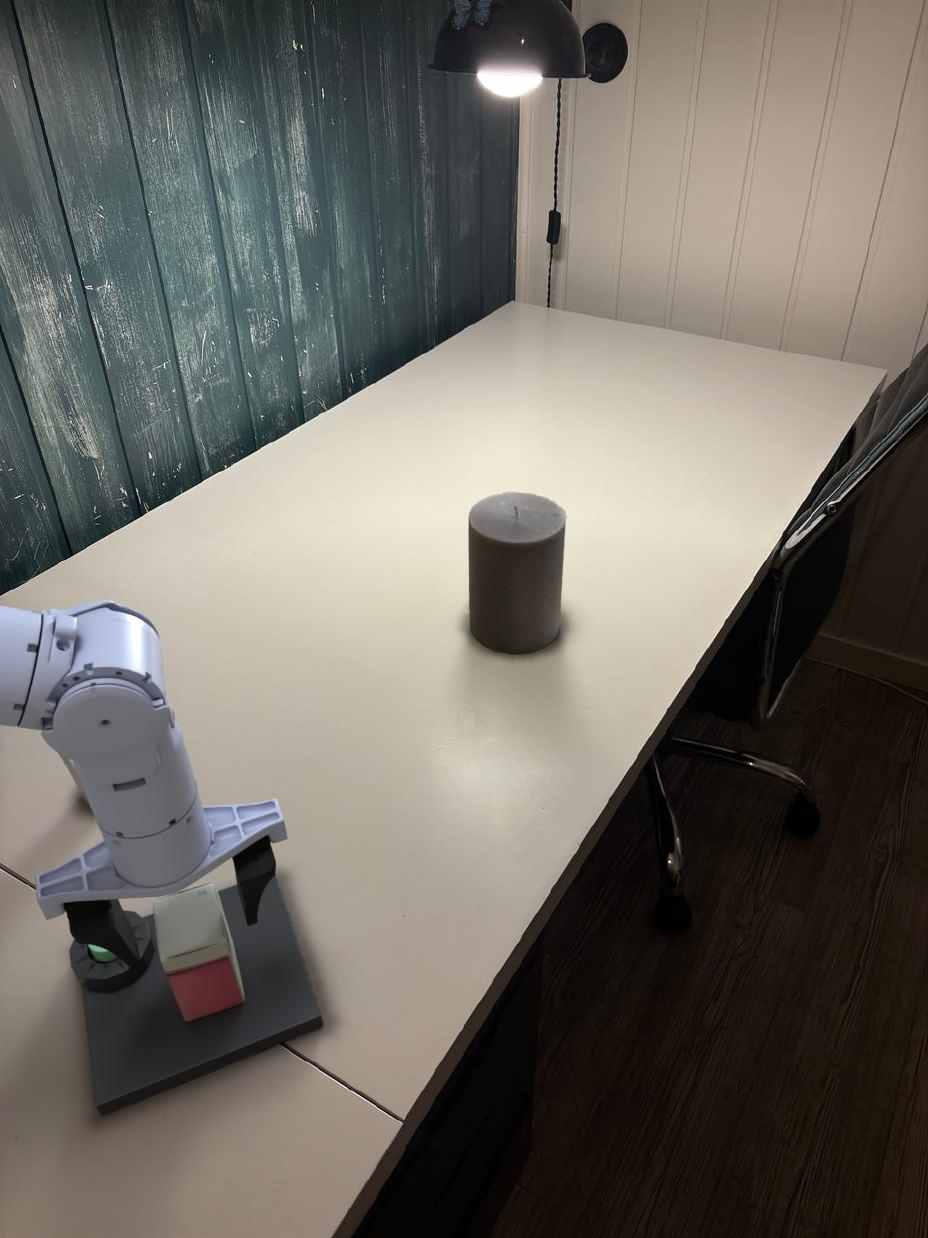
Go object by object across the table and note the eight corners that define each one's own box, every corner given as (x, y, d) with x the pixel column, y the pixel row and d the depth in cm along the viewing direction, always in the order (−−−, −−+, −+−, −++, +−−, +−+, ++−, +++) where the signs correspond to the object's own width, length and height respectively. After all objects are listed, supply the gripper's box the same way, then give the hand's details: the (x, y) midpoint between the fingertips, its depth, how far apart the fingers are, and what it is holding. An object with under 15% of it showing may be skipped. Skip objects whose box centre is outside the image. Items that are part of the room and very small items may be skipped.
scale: (96, 1118, 59) (84, 1097, 57) (78, 948, 69) (66, 926, 67) (323, 1026, 64) (319, 1003, 62) (276, 879, 73) (271, 855, 72)
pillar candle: (484, 661, 94) (483, 539, 84) (459, 605, 101) (456, 487, 92) (573, 644, 96) (583, 522, 86) (542, 590, 103) (548, 472, 93)
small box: (175, 962, 66) (150, 898, 61) (234, 943, 67) (214, 878, 63) (184, 1026, 63) (158, 963, 58) (247, 1004, 64) (227, 940, 59)
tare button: (94, 968, 65) (89, 957, 64) (90, 937, 67) (85, 927, 66) (132, 954, 66) (127, 944, 65) (127, 925, 67) (122, 914, 67)
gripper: (254, 717, 58) (283, 851, 66) (8, 789, 53) (73, 923, 62) (283, 796, 53) (310, 931, 61) (13, 883, 48) (83, 1015, 57)
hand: (192, 933), depth 61 cm, fingers open, 7 cm apart
